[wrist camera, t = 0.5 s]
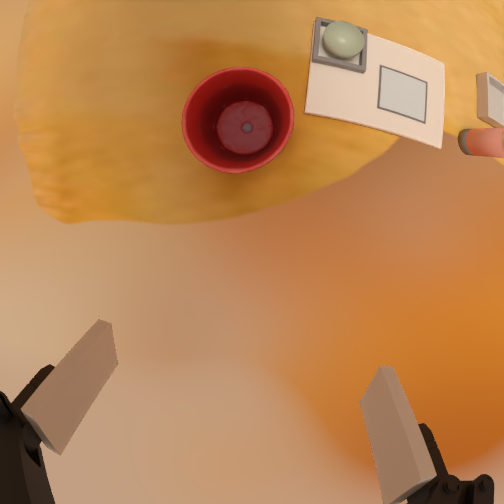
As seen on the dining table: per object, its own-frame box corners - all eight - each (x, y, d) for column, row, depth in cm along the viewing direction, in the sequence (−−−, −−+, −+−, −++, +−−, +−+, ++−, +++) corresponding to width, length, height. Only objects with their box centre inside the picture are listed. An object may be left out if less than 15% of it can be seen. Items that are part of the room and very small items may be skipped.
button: (323, 23, 25) (325, 17, 23) (361, 32, 25) (365, 27, 23) (320, 53, 26) (323, 48, 25) (359, 62, 26) (364, 58, 25)
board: (313, 24, 27) (315, 16, 25) (440, 65, 26) (448, 61, 24) (304, 113, 32) (306, 110, 29) (436, 148, 31) (446, 149, 29)
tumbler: (458, 125, 29) (510, 122, 18) (476, 134, 29) (527, 135, 18) (456, 150, 31) (509, 154, 19) (474, 158, 31) (526, 165, 19)
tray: (476, 74, 26) (486, 71, 23) (505, 94, 25) (515, 92, 22) (477, 117, 28) (488, 116, 25) (505, 134, 28) (516, 134, 25)
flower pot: (305, 141, 33) (317, 134, 24) (232, 184, 35) (218, 194, 26) (260, 75, 30) (255, 47, 21) (189, 119, 33) (161, 108, 24)
